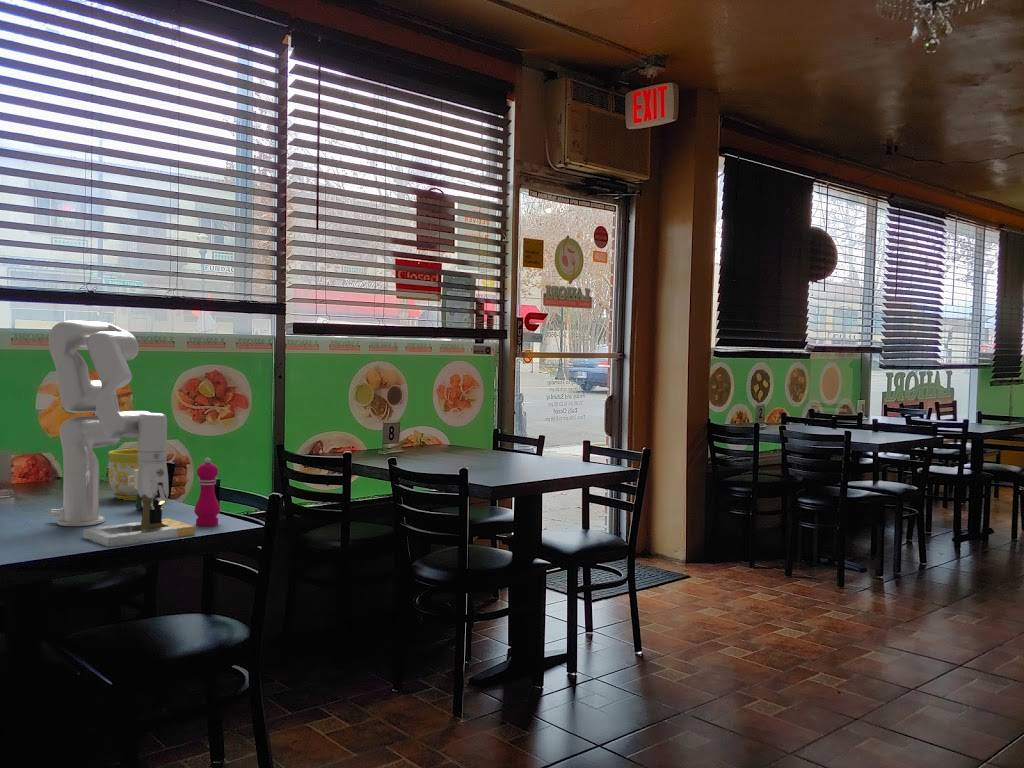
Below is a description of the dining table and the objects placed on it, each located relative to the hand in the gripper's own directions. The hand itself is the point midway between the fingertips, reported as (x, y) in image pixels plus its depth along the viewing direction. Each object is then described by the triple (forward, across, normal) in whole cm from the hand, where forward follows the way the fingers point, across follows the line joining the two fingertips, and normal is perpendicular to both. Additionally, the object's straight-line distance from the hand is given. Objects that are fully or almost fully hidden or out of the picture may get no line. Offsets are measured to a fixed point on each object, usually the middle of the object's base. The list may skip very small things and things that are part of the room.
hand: (151, 521), depth 247 cm
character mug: (+4, +39, -16) cm, 43 cm away
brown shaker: (+3, 0, 0) cm, 3 cm away
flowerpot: (+4, +64, -24) cm, 69 cm away
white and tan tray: (+4, 0, +3) cm, 5 cm away
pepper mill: (+4, +3, -18) cm, 19 cm away
